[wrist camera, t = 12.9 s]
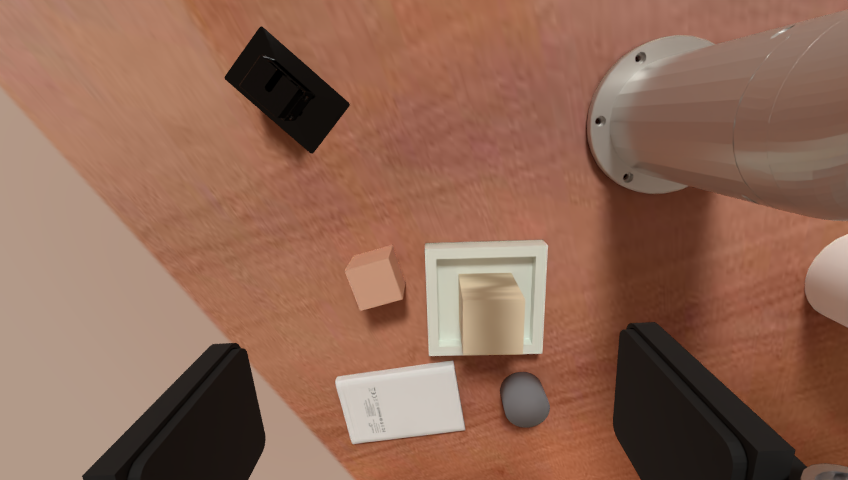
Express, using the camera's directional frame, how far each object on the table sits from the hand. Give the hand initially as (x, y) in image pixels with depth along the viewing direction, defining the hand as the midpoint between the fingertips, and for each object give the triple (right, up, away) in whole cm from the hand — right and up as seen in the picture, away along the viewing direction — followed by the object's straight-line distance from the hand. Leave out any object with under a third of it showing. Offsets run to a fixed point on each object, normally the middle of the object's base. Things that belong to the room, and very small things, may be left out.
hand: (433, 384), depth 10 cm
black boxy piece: (-12, +17, +25) cm, 33 cm away
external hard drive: (-3, -13, +34) cm, 37 cm away
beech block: (+6, -2, +29) cm, 30 cm away
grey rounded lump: (+10, -12, +33) cm, 36 cm away
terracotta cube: (-5, +1, +29) cm, 29 cm away
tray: (+6, -2, +30) cm, 30 cm away
